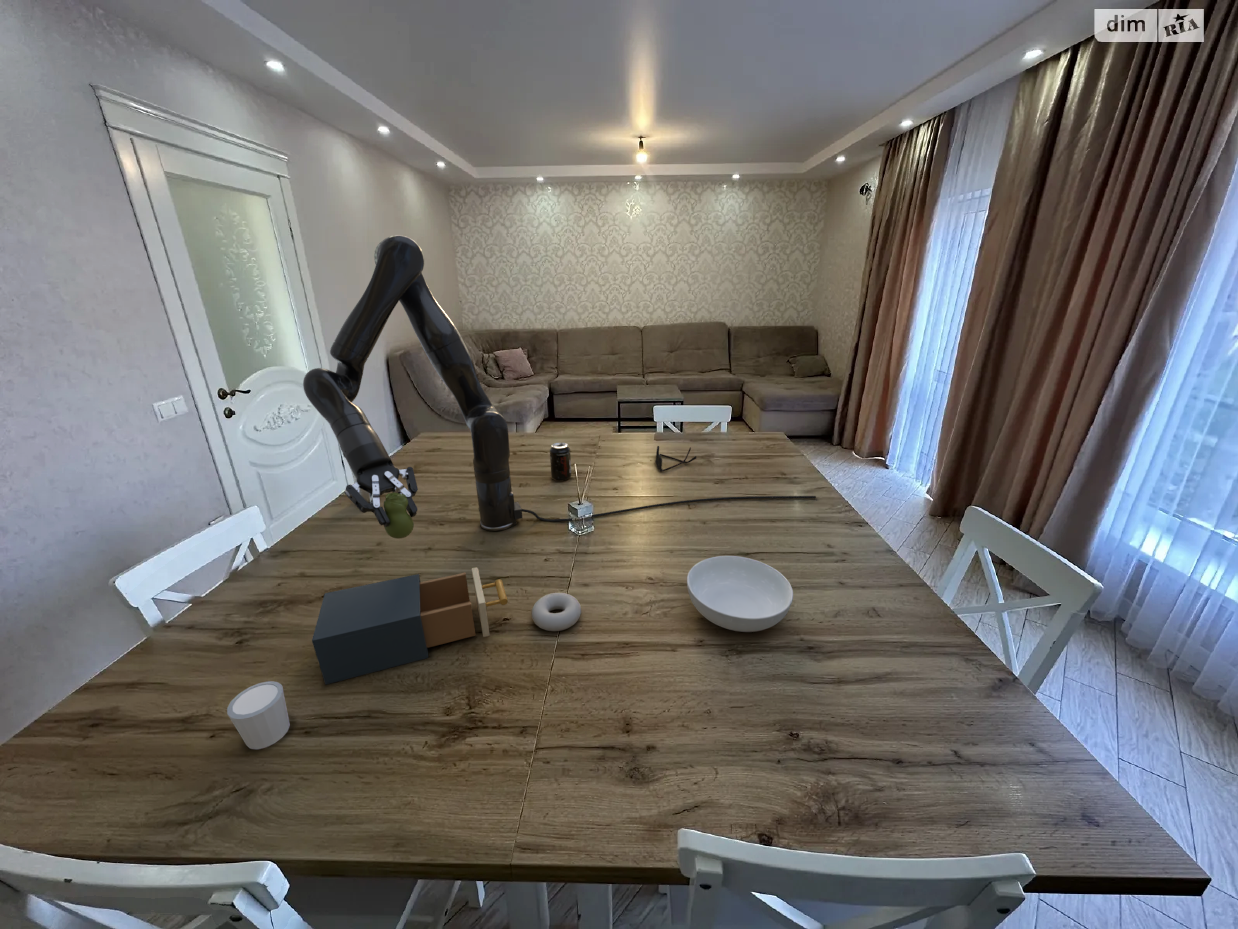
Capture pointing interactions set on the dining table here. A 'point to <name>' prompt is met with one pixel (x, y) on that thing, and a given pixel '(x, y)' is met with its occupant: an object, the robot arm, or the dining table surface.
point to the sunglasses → (659, 459)
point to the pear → (397, 515)
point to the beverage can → (560, 461)
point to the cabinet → (369, 629)
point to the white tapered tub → (260, 714)
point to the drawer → (454, 607)
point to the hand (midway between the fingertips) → (401, 519)
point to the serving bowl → (739, 593)
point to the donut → (558, 619)
